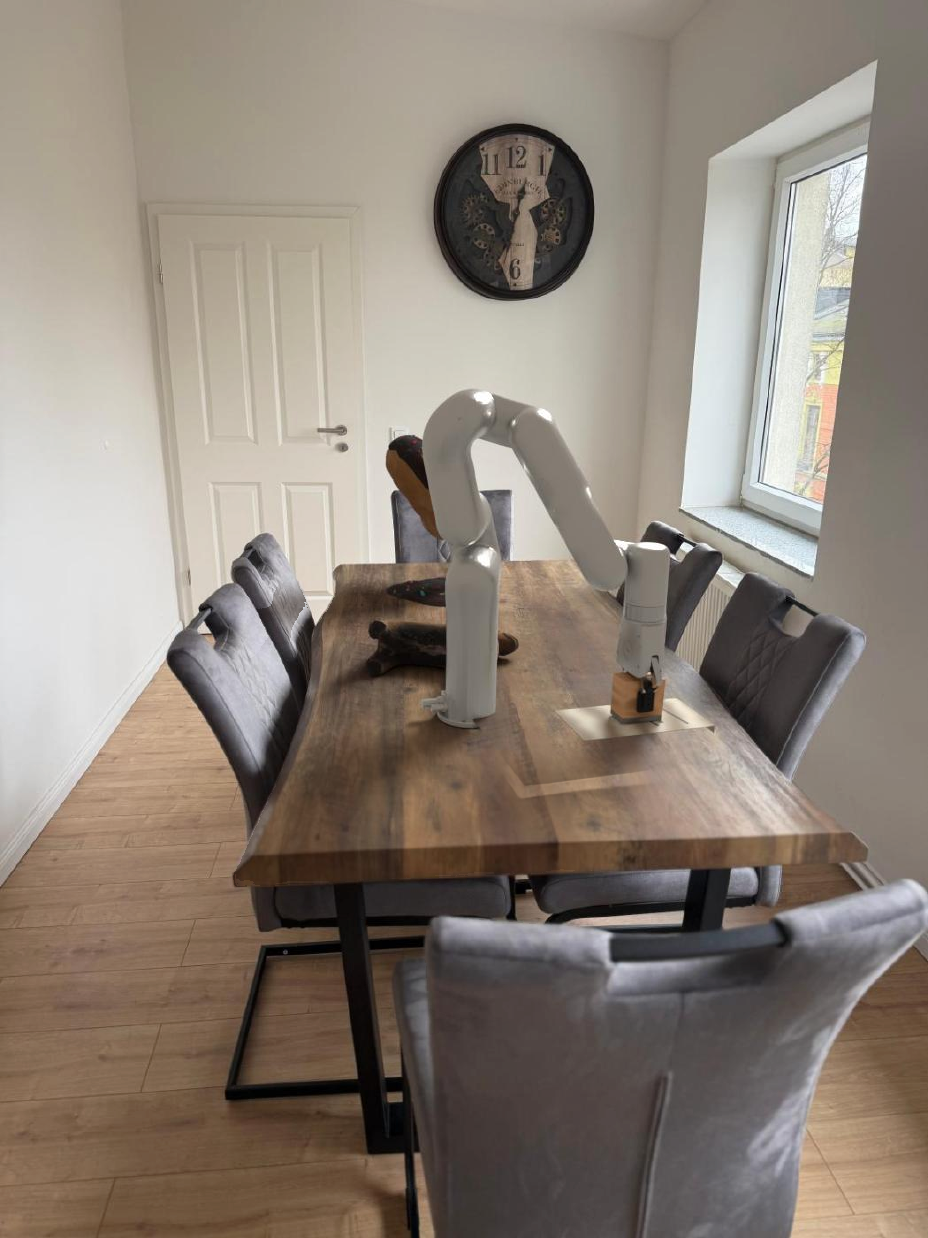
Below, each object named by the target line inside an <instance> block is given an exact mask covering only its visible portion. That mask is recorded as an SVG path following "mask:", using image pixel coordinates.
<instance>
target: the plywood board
mask: <svg viewBox="0 0 928 1238" xmlns="http://www.w3.org/2000/svg"><path fill="white" fill-rule="evenodd" d="M610 709H611V704H606V705H605V704H604V705H597V706H596V705H594V706H588V707H576V708H568V709H559V710H557V709H556V710H554V713H555V714H556V715H557V716H558V717H560V718H561V719H562V721H563V722H565V723H566V724H567V725H568V726H569V728H570V729H572V730H573V732H575V733H576V734H577V735H578V736H579V737H580V738H581V739H582V740H583V741H584V742H586V741H587V742H588V741H597V740H606V739H614V738H623V737H629V736H639V735H640V736H641V735H648V734H649V735H650V734H657V733H664V732H673V731H682V730H689V729H690V730H691V729H699V728H700V729H701V728H705V729H706V728H707V729H708V730H709V731H711V733H713V734H715V730H716V725H715V724H714V723H712V722H711V721H710V720H708V719H707V718H705V717H704V716H702V715H701V714H699V713H698V712H697V711H695V710H694V709H692V708H691V707H689V706H688V705H686V704H685V703H684V702H682V701H681V700H679V699H678V698H676V697H674V698H665V699H663V709H662V719H661V720H656V721H645V722H634V723H623V724H622V723H621V722H620V721H618V720H617V719H616V718H615V717H614V716H613V715H611V714H610Z"/></svg>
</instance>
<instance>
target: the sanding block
mask: <svg viewBox="0 0 928 1238" xmlns="http://www.w3.org/2000/svg"><path fill="white" fill-rule="evenodd" d="M612 674H613V676H612V685H611V697H610V705H611V709H610V714H611V715H613V716H614V717H615V718H616V719H617V720H618V721H620V722H621V723H622V724H623V723H634V722H645V721H656V720H661V719H662V709H663V699H664V698H665V688H666V678H664V677H663V676H662V679H663V683H662V684H661V685H659V686H658V688H657V691H656V692H655V698H654V710H653V711H652V712H644V713H638V712H637V696H638V692H639V691H640V681H639V678H636V677H635V676H633V675H632V674H631V673H629V672H613V673H612ZM647 675H651V672H648V673H647ZM647 682H650V679H645V685H646V684H647Z"/></svg>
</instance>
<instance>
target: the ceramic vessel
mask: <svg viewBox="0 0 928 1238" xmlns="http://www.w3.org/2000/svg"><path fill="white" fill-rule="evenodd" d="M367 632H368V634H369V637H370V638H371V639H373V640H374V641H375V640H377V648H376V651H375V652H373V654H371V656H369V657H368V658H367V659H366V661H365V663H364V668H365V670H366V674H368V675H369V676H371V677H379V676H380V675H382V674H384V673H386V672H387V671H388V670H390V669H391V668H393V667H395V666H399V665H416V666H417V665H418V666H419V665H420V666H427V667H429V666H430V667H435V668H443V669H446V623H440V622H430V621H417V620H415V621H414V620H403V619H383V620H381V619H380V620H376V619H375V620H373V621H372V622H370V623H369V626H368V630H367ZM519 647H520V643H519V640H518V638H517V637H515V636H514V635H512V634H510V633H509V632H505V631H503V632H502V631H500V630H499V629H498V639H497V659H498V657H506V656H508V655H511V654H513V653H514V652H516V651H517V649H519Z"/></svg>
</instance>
